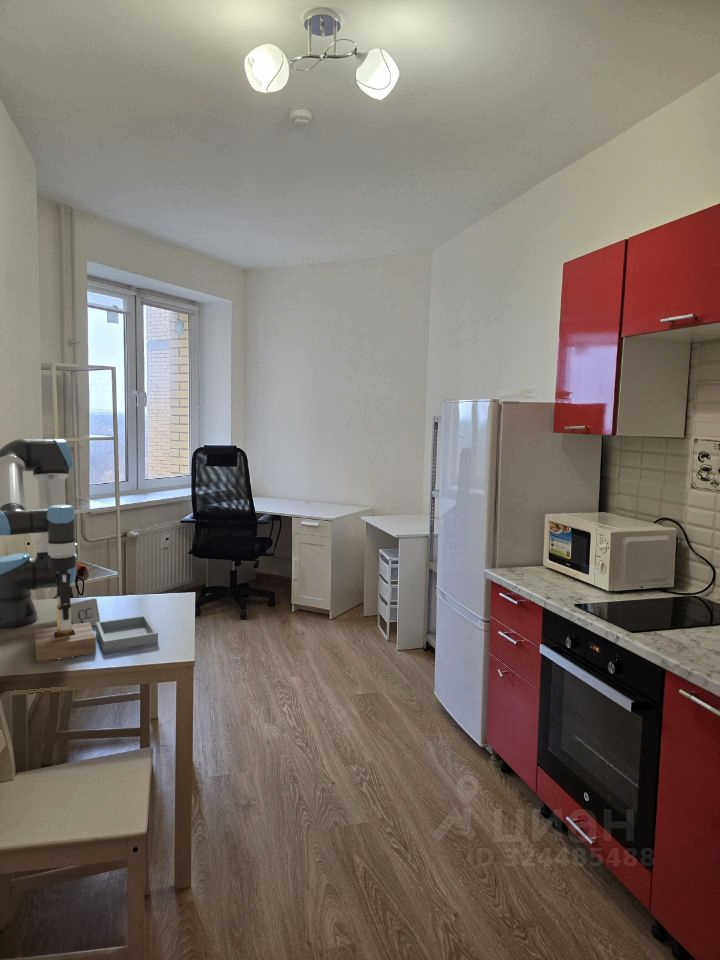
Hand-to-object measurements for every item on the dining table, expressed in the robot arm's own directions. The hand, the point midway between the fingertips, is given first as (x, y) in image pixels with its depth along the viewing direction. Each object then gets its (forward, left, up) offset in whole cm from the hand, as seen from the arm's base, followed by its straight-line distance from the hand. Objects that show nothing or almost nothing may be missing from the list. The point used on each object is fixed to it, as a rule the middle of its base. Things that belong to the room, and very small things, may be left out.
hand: (64, 622), depth 184 cm
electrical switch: (-20, +7, -9) cm, 23 cm away
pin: (0, 0, -8) cm, 8 cm away
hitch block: (0, 0, -8) cm, 8 cm away
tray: (0, +18, -8) cm, 20 cm away
